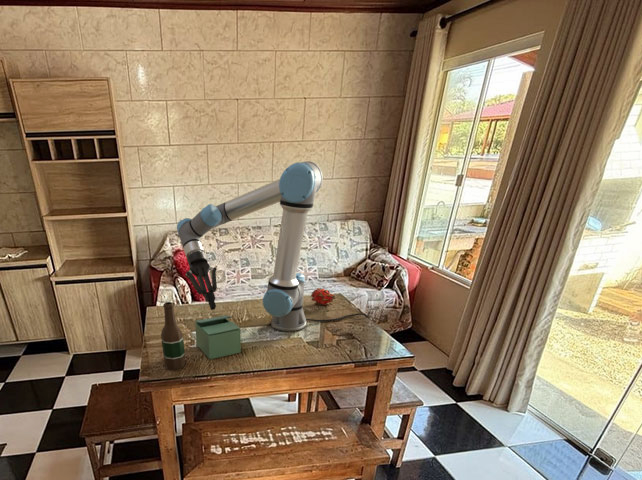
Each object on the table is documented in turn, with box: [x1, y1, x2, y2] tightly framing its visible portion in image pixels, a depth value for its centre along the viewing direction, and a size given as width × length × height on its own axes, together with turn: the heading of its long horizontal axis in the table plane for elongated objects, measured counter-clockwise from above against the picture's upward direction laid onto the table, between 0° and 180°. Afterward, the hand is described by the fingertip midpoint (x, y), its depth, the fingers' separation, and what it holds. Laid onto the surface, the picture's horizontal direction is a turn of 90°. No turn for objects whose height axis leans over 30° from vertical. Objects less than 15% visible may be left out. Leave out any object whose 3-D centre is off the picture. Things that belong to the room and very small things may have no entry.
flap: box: [194, 314, 233, 323], centre depth 159 cm, size 7×13×1 cm, turn 113°
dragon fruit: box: [310, 287, 336, 306], centre depth 200 cm, size 8×8×12 cm
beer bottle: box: [160, 301, 186, 371], centre depth 145 cm, size 8×8×24 cm
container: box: [194, 318, 242, 360], centre depth 159 cm, size 15×13×10 cm
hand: (213, 308), depth 157 cm, fingers closed
